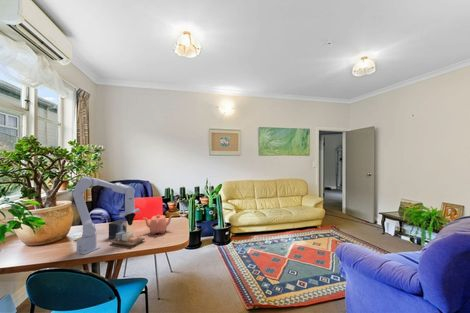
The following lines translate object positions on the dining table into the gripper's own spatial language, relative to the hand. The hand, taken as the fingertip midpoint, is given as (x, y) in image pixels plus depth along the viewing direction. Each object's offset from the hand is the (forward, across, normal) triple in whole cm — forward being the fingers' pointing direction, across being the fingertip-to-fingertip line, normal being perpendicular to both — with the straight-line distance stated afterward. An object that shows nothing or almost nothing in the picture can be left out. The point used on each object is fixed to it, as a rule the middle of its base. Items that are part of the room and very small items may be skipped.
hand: (130, 224), depth 140 cm
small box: (+11, +3, +15) cm, 19 cm away
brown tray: (+10, -4, -2) cm, 11 cm away
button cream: (+8, -4, -2) cm, 9 cm away
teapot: (+11, +19, -7) cm, 23 cm away
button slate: (+8, -4, +3) cm, 10 cm away
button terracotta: (+10, -4, -8) cm, 13 cm away
